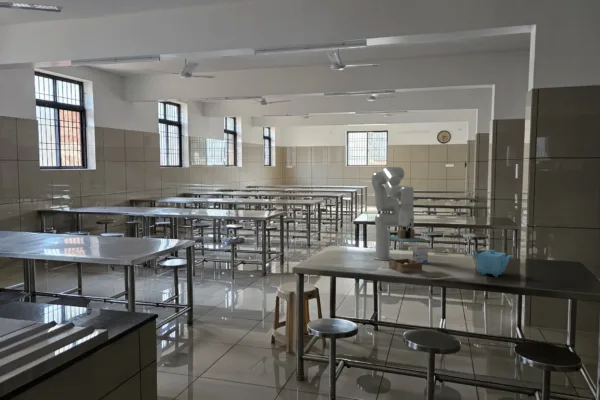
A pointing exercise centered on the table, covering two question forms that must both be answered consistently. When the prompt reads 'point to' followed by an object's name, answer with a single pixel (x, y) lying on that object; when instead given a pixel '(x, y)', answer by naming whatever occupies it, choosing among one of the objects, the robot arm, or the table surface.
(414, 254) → the ink box
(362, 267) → the table surface
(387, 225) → the robot arm
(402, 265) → the box
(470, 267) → the table surface
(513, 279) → the table surface
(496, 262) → the teakettle
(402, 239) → the lid
